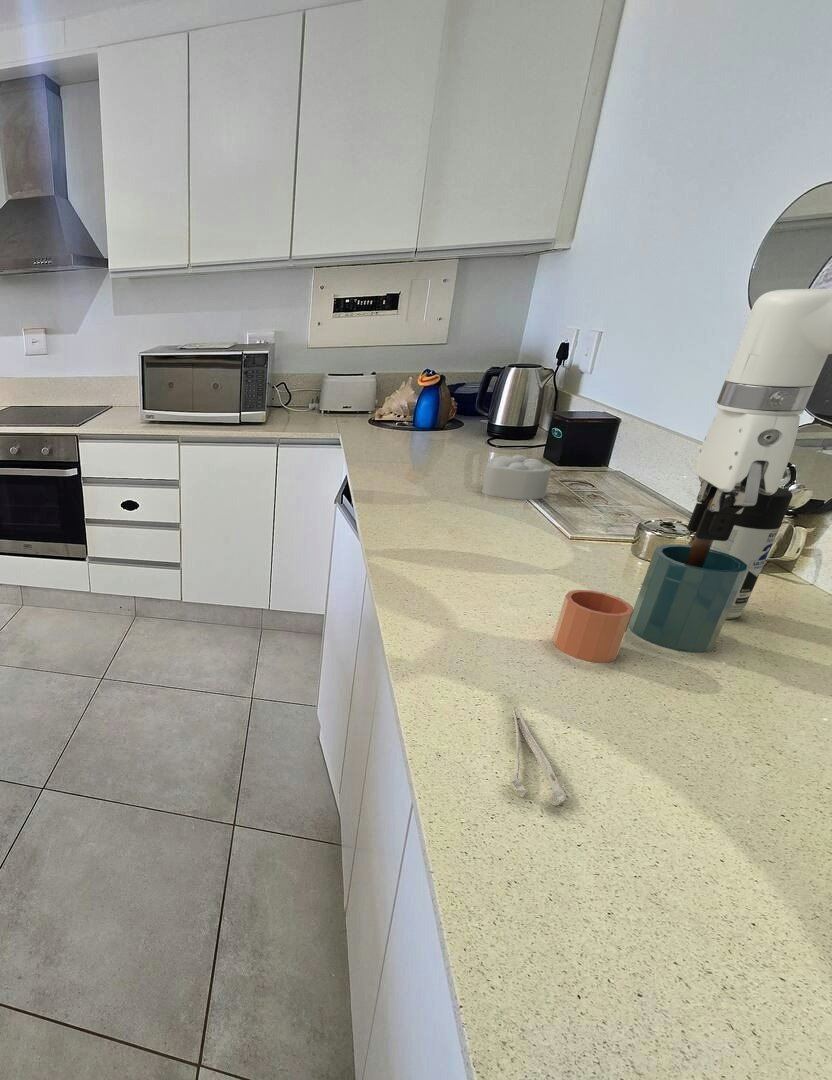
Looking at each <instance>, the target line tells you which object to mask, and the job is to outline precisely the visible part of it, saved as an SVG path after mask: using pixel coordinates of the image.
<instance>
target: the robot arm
mask: <svg viewBox="0 0 832 1080" xmlns="http://www.w3.org/2000/svg"><path fill="white" fill-rule="evenodd" d="M745 323H746V324H745V326H744V329H743V331H742V334H741V336H740V339H739V342H738V344H737V347H736V349H735V352H734V356H733V357H732V360H731V363H730V366H729V368H728V370H727V373H726V377H725V379H724V382H723V384H722V387H721V390H720V392H719V395H718V397H717V400H716V403H715V404H714V408H716V409H718V410H717V412H716V414H715V416H714V418H713V420H712V422H711V424H710V426H709V428H708V430H707V432H706V434H705V437H704V439H703V441H702V444H701V447H700V449H699V452H698V455H697V457H696V461H695V464H694V472H695V473H696V475H697V476H698V480H699V482H700V485H699V487H700V488H699V491H698V494H697V497H696V503H695V506H694V509H693V511H692V513H691V515H690V519H689V521H688V524H687V526H686V530H687V531H688V532H691V533H695V534H694V537H695V536H696V537H697V538H699V539H707V540H717V541H727V540H728V539H729V536H730V534H731V532H732V529H733V527H734V525H735V522H736V520H737V518H738V515H739V514H741V513H742V511H743V509H744V507H745V506H754V505H755V504H756V502H757V497H758V492H759V493H761V494H763V495H772V494H774V493H775V492H776V491H777V489H778V487H780V484H781V482H782V480H783V477H784V475H785V472H786V470H787V467H788V464H789V461H790V458H791V455H792V453H793V450H794V446H795V443H796V439H797V436H798V431H799V426H800V420H801V416H800V415H802V414H803V413H804V411H805V409H806V406H807V405H808V402H809V400H810V397H811V395H812V393H813V391H814V388H815V385H816V383H817V381H818V379H819V377H820V374H821V372H822V369H823V367H824V365H825V363H826V361H827V358H828V356H829V355H832V288H789V289H788V288H787V289H776V290H770V291H767V292H765V293H763V294H761V295H760V296H759V297H758V298H756V300H755V302H754V304H753V306H752V308H751V310H750V313H749V315H748V318H747V321H746V322H745ZM735 486H740V489H736V488H734V487H735ZM730 495H737V496H730ZM713 497H714V499H713V501H712V503H711V506H710V510H707V506H708V504H709V501H710V500H711V499H712V498H713ZM724 498H725V499H724Z"/></svg>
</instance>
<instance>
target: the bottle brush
mask: <svg viewBox="0 0 832 1080" xmlns="http://www.w3.org/2000/svg"><path fill="white" fill-rule="evenodd" d="M713 499H714V497H713V498H712V499H711V500H710V501H709V504H708V506H707V510H710V506H711V503H712V501H713ZM724 499H725V498H724ZM713 541H714V540H707V539H699V538H697V537H696V536H695V535H694V539H693V542H692V543H691V546H692V547H691V549H690V552H689V554H688V557H687V559H686V562H685V564H687V565H691V566H695V567H700V568H702V567H703V565H704V562H705V560H706V558H707V555H708V553H709V550H710V548H711V546H712V543H713Z"/></svg>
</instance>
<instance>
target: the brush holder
mask: <svg viewBox="0 0 832 1080" xmlns="http://www.w3.org/2000/svg"><path fill="white" fill-rule="evenodd" d="M633 611H634V607H633V606H632V605H631V604H630V602H627V601H625V600H624V599H622V598H620V597H617V596H616V595H612V594H609V593H605V592H601V591H596V590H589V589H575V590H570V591H568V592H567V593H566V594H565V596H564V598H563V602H562V606H561V609H560V613H559V614H558V615H559V616H558V618H557V622H556V626H555V630H554V632H553V635H552V639H551V640H552V643H553V645H554V646H555V648H557V649H558V650H559V651H560V652H562V653H564V654H566V655H568V656H570V657H573V658H575V659H577V660H581V661H585V662H591V663H596V664H597V663H598V664H603V663H605V664H606V663H611V662H613V661H615V660H616V659H617V657H618V655H619V653H620V650H621V647H622V644H623V641H624V639H625V636H626V634H627V633H626V632H627V630H628V629H629V627H628V625H629V622H630V619H631V616H632V614H633Z"/></svg>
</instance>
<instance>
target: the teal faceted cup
mask: <svg viewBox="0 0 832 1080" xmlns="http://www.w3.org/2000/svg"><path fill="white" fill-rule="evenodd" d="M691 547H692V545H690V544H689V545H688V544H679V543H678V544H673V543H672V544H661V545H658V546H655V548H654V551H653V554H652V556H651V558H650V561H649V564H648V567H647V570H646V573H645V575H644V578H643V581H642V583H641V586H640V590H639V593H638V595H637V597H636V601H635V604H634V606H633V609H634V611H633V614H632V616H631V619H630V622H629V625H628V629H629V630H630V631H631V633H633V634H634V635H635V636H636V637H638V638H640V639H642V640H643V641H645V642H648V643H650V644H653V645H656V646H659V647H662V648H664V649H667V650H668V649H669V650H672V651H677V652H683V653H694V654H699V653H706V652H710V651H711V650H713V648H714V647H715V645H716V643H717V640H718V638H719V636H720V633H721V631H722V629H723V626H724V624H725V621H726V620H727V619H726V617H727V615H728V613H729V610H730V608H731V606H732V603H733V601H734V599H735V597H736V594H737V592H738V590H739V587H740V585H741V583H742V580H743V578H744V576H745V574H746V571H747V564H745V563H744V562H743V561H742V560H740V559H738V558H736V557H734V556H731V555H729V554H726V553H722V552H719V551H715V550H712V549H710V550H709V553H708V555H707V558H706V560H705V562H704V565H703V567H702V568H700V567H695V566H691V565H687V564H685V562H686V559H687V557H688V554H689V552H690V549H691Z"/></svg>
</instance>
